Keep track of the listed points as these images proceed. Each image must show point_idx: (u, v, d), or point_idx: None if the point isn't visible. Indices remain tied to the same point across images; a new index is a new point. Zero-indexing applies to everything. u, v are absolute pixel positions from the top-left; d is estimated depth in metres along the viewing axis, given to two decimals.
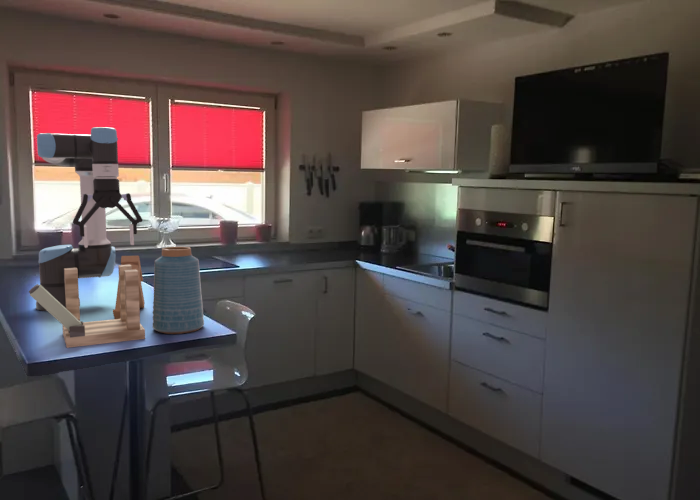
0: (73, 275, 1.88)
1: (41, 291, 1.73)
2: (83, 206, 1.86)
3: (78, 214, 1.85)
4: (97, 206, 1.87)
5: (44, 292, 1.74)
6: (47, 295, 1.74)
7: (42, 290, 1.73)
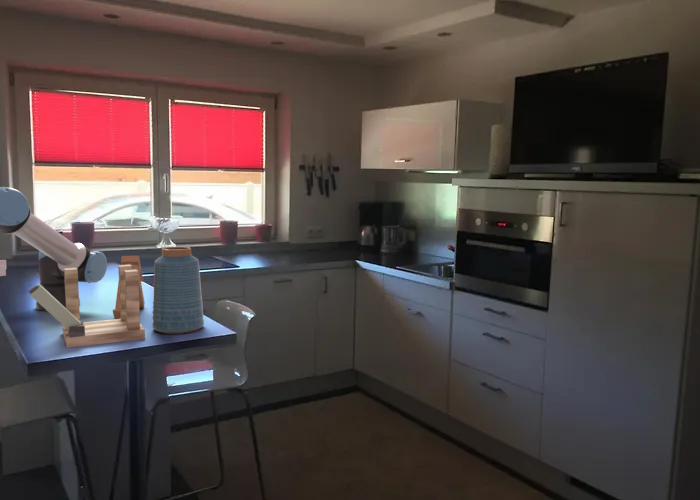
0: (73, 275, 1.88)
1: (41, 291, 1.73)
2: None
3: None
4: None
5: (44, 292, 1.74)
6: (47, 295, 1.74)
7: (42, 290, 1.73)
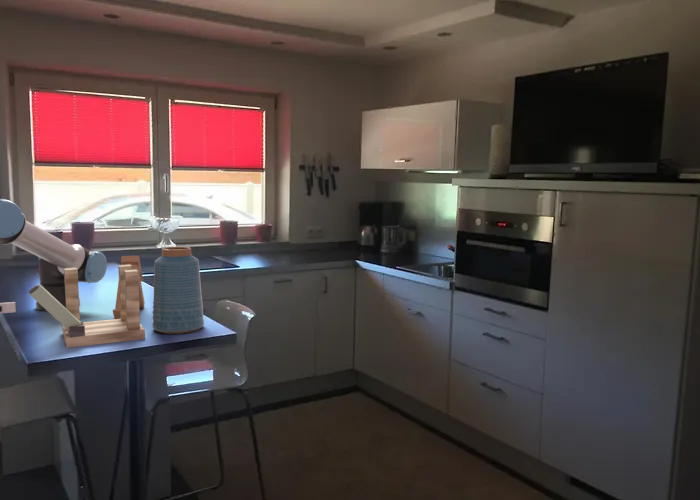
0: (73, 275, 1.88)
1: (41, 291, 1.73)
2: None
3: None
4: None
5: (44, 292, 1.74)
6: (47, 295, 1.74)
7: (42, 290, 1.73)
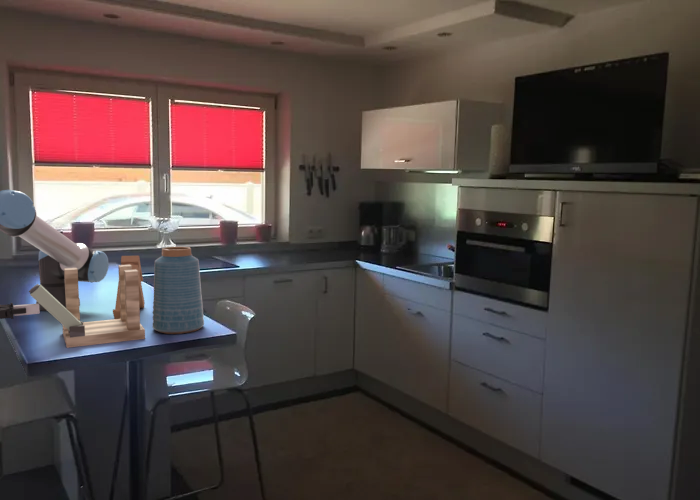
0: (73, 275, 1.88)
1: (41, 291, 1.73)
2: None
3: None
4: None
5: (44, 292, 1.74)
6: (47, 295, 1.74)
7: (42, 290, 1.73)
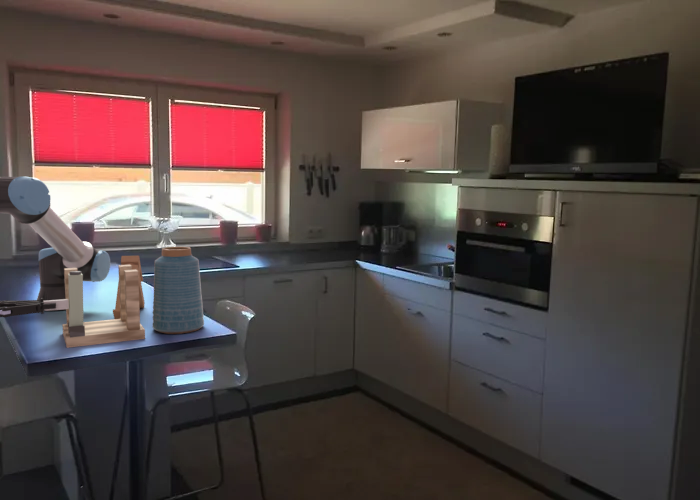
0: None
1: (79, 279, 1.78)
2: None
3: None
4: None
5: (80, 282, 1.78)
6: (80, 285, 1.78)
7: (81, 279, 1.78)
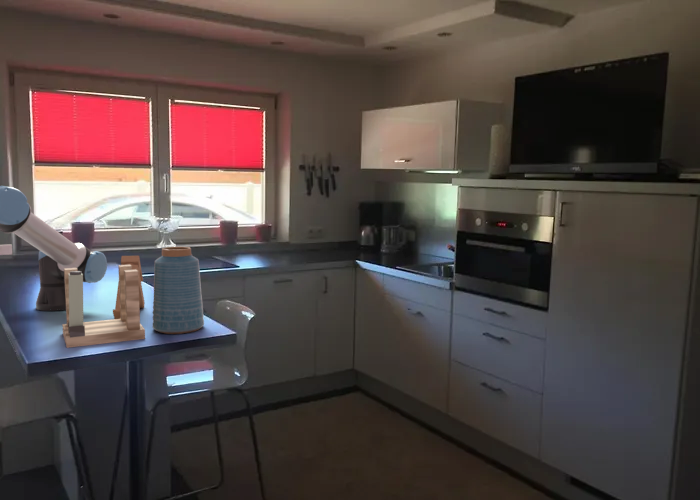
0: None
1: (80, 279, 1.78)
2: None
3: None
4: None
5: (81, 282, 1.78)
6: (81, 285, 1.78)
7: (81, 279, 1.78)
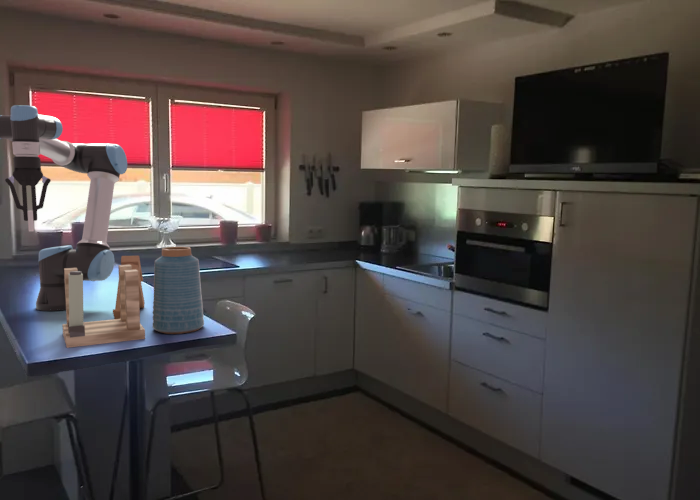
0: None
1: (80, 279, 1.78)
2: (13, 189, 1.88)
3: (15, 198, 1.89)
4: (24, 186, 1.89)
5: (81, 282, 1.78)
6: (81, 285, 1.78)
7: (81, 279, 1.78)
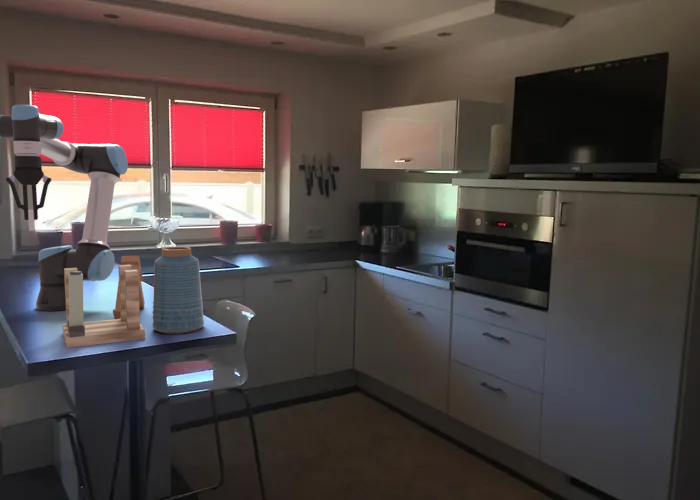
0: None
1: (80, 279, 1.78)
2: (14, 189, 1.89)
3: (16, 198, 1.89)
4: (25, 185, 1.90)
5: (81, 282, 1.78)
6: (81, 285, 1.78)
7: (81, 279, 1.78)
